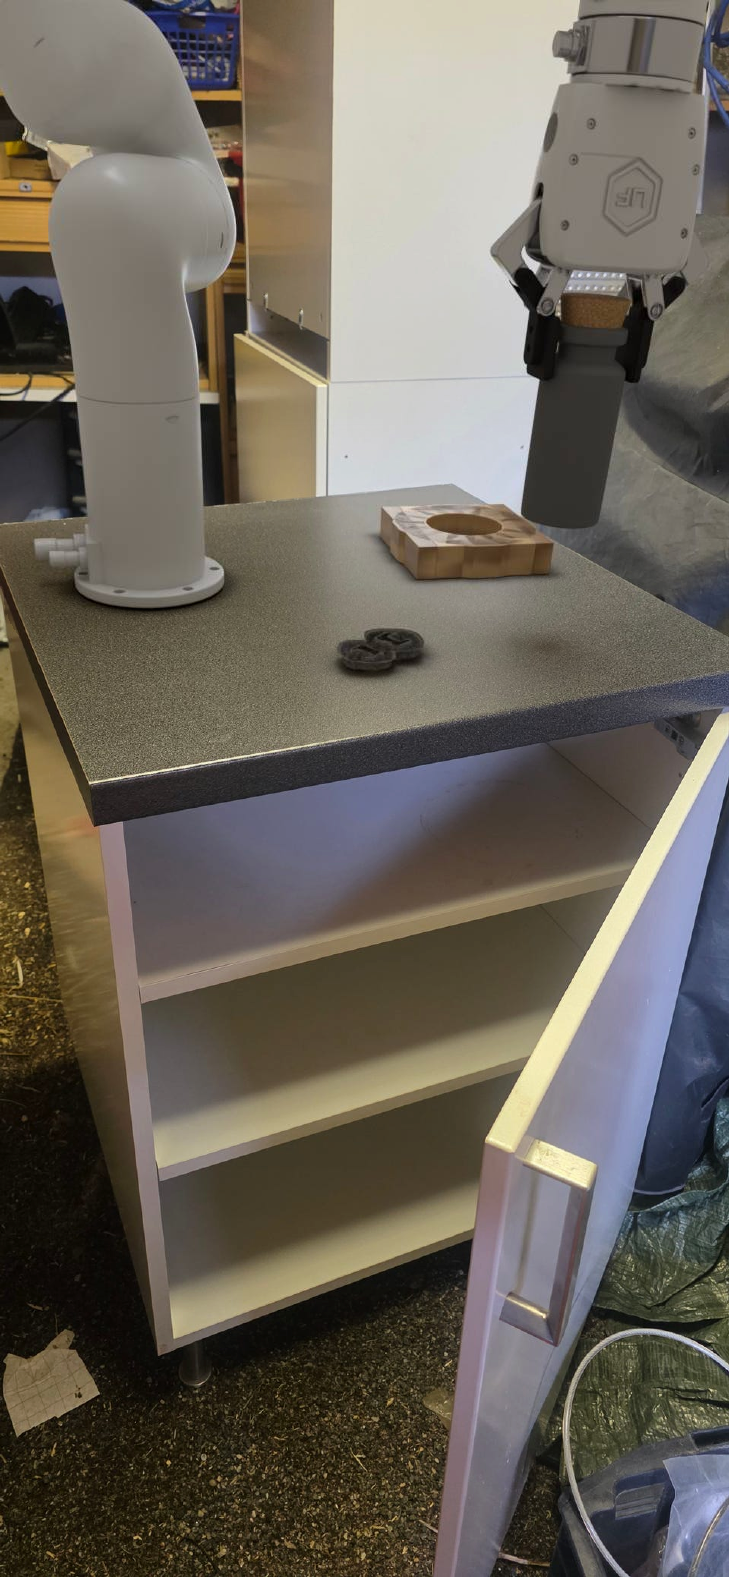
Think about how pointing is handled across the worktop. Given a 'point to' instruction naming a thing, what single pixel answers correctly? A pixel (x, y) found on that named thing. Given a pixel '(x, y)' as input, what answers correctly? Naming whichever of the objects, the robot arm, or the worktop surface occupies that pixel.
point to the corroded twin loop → (380, 648)
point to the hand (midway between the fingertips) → (582, 375)
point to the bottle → (577, 415)
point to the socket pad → (464, 541)
